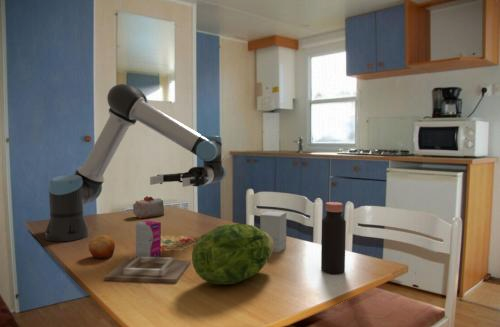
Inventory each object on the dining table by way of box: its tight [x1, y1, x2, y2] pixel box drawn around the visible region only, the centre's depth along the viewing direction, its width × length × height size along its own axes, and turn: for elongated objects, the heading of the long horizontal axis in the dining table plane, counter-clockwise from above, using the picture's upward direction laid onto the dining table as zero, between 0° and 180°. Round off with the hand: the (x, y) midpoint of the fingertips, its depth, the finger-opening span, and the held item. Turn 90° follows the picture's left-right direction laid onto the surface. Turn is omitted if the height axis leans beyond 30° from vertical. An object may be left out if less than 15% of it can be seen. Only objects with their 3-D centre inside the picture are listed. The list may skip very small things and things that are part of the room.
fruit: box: [88, 234, 116, 259], centre depth 128 cm, size 8×8×8 cm
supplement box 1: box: [135, 219, 162, 259], centre depth 127 cm, size 6×6×12 cm
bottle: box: [320, 201, 347, 275], centre depth 115 cm, size 7×7×20 cm
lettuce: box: [191, 223, 274, 285], centre depth 108 cm, size 15×27×16 cm, turn 137°
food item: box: [132, 195, 165, 219], centre depth 192 cm, size 14×8×10 cm, turn 127°
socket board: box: [103, 256, 191, 284], centre depth 114 cm, size 20×16×2 cm
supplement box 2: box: [259, 210, 287, 253], centre depth 138 cm, size 7×7×13 cm
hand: (166, 181), depth 135 cm, fingers open, 13 cm apart
